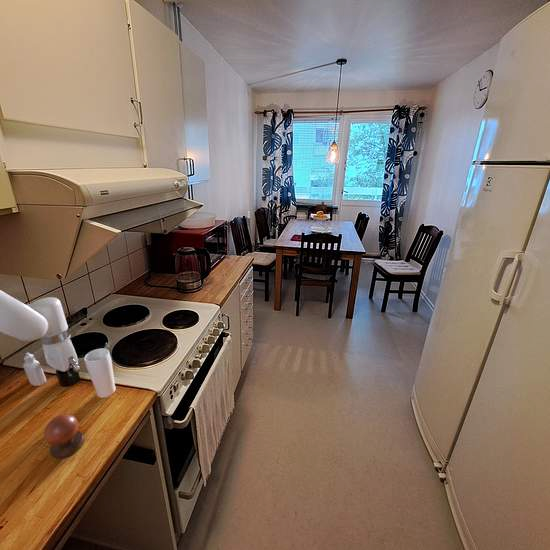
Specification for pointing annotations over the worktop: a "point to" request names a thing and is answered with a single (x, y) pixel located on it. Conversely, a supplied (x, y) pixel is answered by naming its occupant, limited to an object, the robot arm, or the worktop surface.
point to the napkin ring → (63, 377)
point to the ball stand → (63, 436)
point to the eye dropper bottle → (33, 370)
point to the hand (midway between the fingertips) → (69, 379)
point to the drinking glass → (101, 371)
